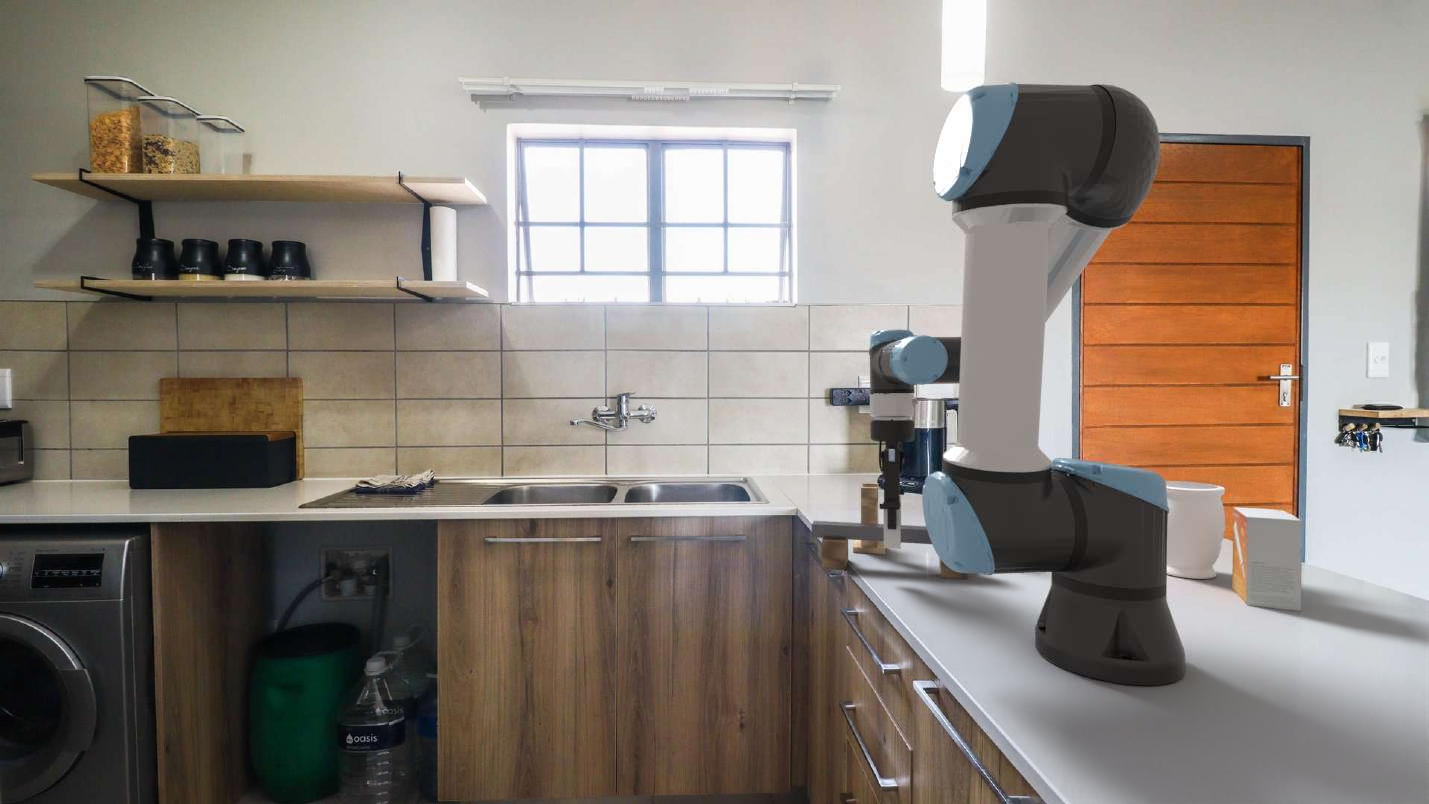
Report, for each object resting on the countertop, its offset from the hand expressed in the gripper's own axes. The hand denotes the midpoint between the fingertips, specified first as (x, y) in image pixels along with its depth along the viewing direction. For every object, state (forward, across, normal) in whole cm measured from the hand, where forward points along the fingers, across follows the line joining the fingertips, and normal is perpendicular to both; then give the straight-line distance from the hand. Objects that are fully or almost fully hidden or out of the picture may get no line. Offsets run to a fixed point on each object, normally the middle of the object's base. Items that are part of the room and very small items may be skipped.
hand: (892, 539), depth 113 cm
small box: (+6, -3, -53) cm, 54 cm away
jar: (+6, +10, -48) cm, 49 cm away
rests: (+5, 0, 0) cm, 5 cm away
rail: (0, 0, 0) cm, 0 cm away
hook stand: (+5, +13, -6) cm, 15 cm away
